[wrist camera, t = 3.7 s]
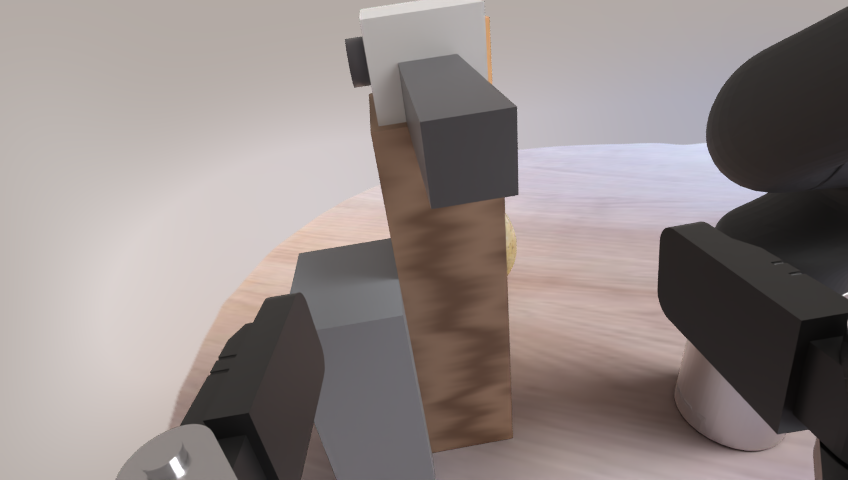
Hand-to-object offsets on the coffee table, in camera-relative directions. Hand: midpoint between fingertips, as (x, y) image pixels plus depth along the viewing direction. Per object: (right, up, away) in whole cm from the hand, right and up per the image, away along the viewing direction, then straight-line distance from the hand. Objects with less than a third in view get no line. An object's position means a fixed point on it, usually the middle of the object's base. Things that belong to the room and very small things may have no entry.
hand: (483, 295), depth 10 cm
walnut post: (+3, -16, +38) cm, 41 cm away
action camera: (-1, +8, +16) cm, 18 cm away
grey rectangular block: (-5, -19, +34) cm, 40 cm away
